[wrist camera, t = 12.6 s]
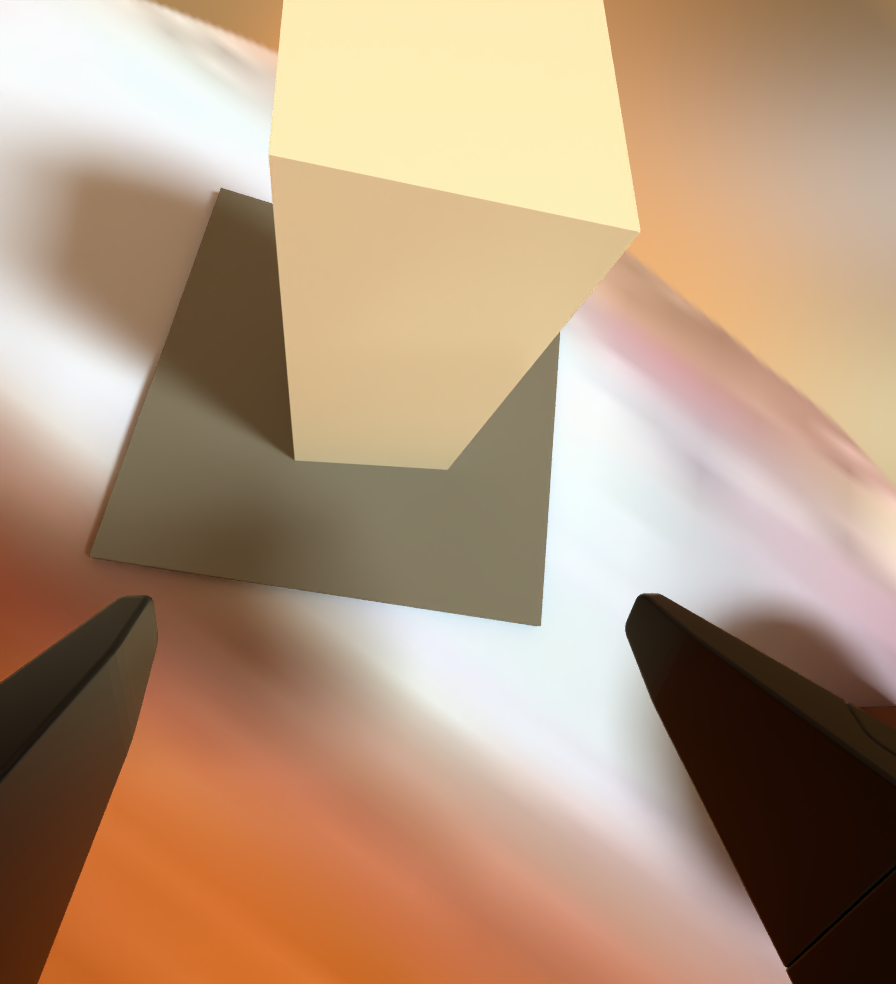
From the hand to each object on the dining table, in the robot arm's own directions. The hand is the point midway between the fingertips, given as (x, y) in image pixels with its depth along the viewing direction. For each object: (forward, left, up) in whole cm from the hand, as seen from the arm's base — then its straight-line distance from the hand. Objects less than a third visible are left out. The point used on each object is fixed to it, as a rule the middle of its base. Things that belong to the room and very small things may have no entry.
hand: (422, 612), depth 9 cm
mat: (+8, +1, -9) cm, 12 cm away
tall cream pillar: (+8, +1, -8) cm, 12 cm away
